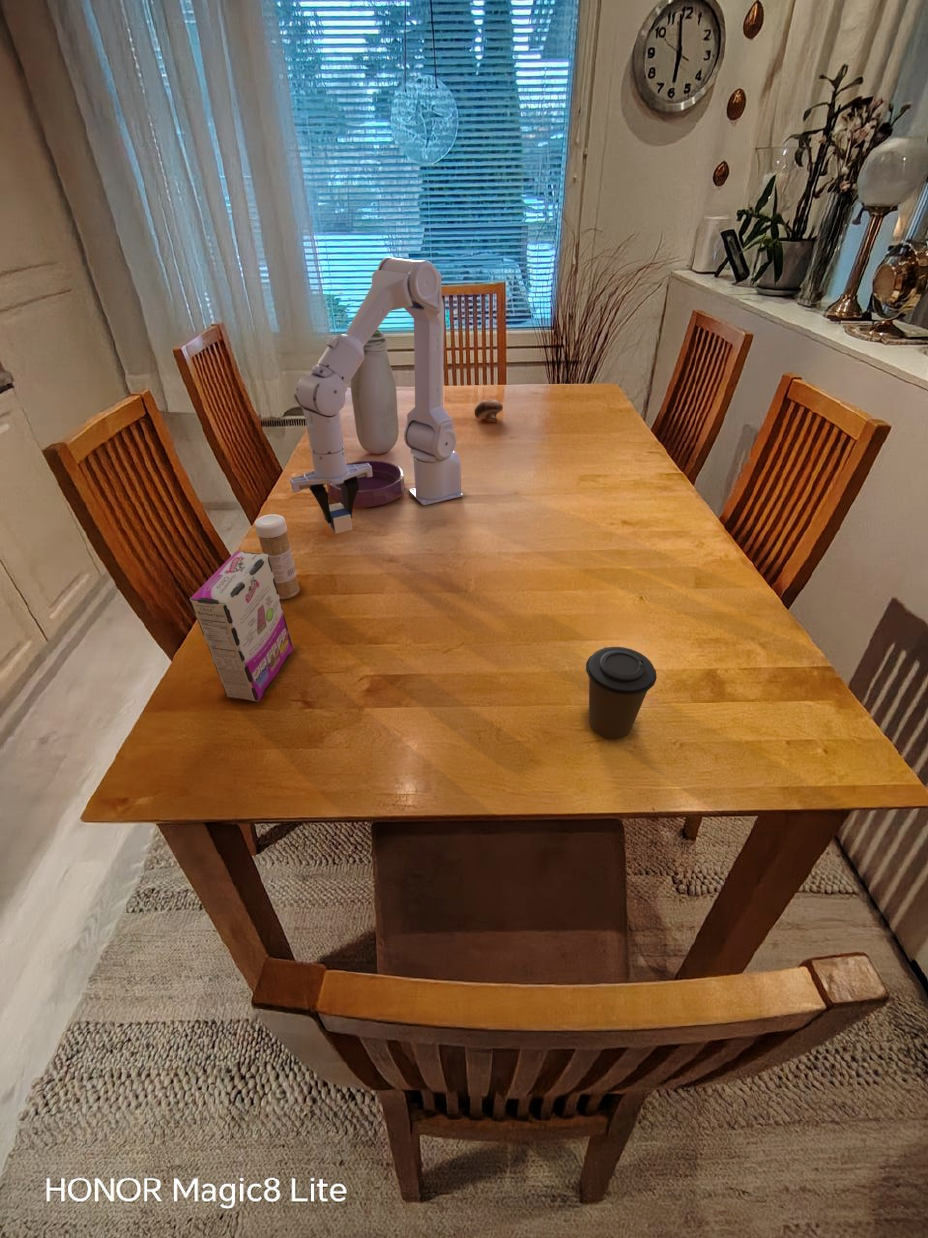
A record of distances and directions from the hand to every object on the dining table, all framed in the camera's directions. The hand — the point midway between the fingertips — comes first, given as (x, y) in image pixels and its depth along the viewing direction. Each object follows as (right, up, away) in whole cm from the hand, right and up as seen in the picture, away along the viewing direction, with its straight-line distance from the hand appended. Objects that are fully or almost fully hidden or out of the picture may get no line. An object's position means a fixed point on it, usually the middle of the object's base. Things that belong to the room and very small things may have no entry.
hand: (338, 518), depth 110 cm
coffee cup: (+42, -32, -36) cm, 64 cm away
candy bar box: (-5, -27, -28) cm, 39 cm away
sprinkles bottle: (-6, -15, -13) cm, 20 cm away
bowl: (+2, +9, +18) cm, 20 cm away
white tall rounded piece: (+3, +23, +37) cm, 43 cm away
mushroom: (+30, +37, +54) cm, 72 cm away
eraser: (0, -1, +1) cm, 1 cm away
